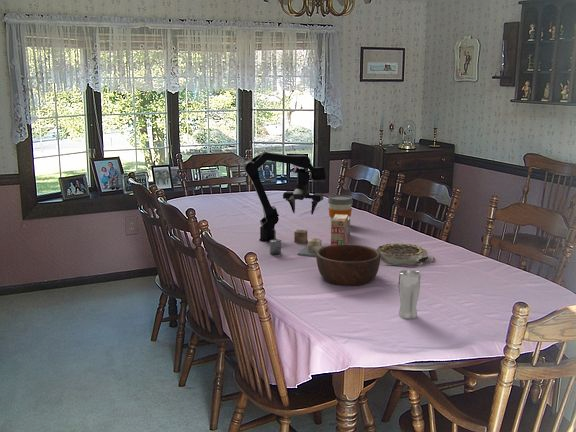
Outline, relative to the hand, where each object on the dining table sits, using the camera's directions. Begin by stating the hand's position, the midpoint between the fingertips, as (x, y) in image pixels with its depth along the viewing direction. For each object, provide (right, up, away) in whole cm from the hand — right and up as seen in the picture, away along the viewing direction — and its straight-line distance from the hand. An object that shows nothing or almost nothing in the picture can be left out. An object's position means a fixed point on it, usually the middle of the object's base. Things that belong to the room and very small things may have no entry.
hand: (303, 213), depth 299 cm
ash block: (+5, -16, -22) cm, 28 cm away
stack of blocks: (+18, -13, -1) cm, 22 cm away
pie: (+42, -20, -28) cm, 54 cm away
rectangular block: (-1, -13, -3) cm, 14 cm away
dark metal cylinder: (-13, -18, -23) cm, 32 cm away
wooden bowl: (+16, -25, -54) cm, 62 cm away
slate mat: (+5, -17, -22) cm, 28 cm away
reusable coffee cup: (+20, -6, +26) cm, 33 cm away
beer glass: (+33, -34, -92) cm, 103 cm away
